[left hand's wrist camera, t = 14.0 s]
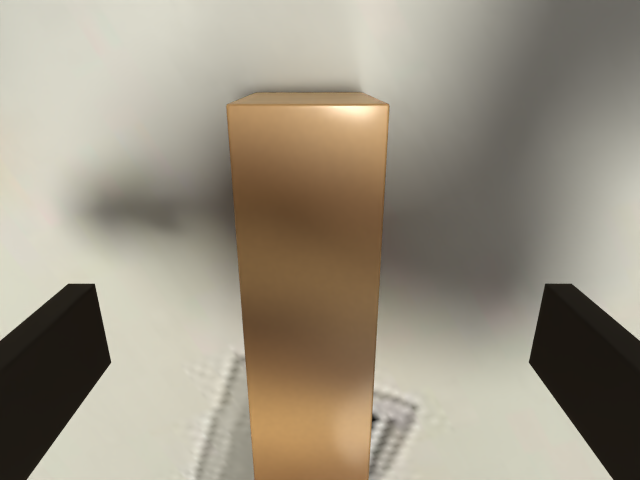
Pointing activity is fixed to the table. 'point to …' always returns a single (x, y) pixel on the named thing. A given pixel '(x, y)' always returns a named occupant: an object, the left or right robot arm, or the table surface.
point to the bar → (309, 275)
